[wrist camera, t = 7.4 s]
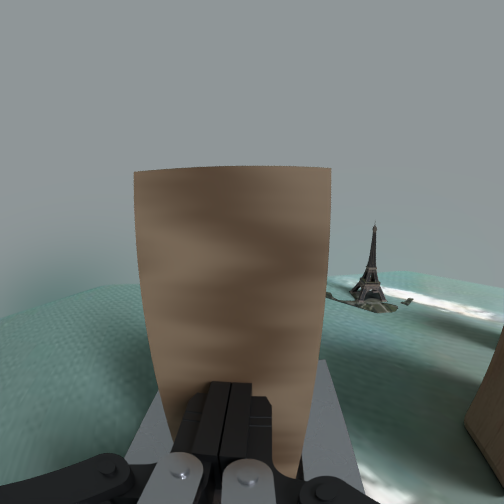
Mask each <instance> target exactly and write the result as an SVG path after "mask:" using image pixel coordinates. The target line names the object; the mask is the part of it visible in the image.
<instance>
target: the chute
mask: <svg viewBox="0 0 504 504" xmlns="http://www.w3.org/2000/svg"><path fill="white" fill-rule="evenodd" d="M173 444H174V443H173V440H172V437H171V433H170V430H169V427H168V423H167V420H166V416H165V412H164V409H163V405H162V401H161V397H160V393H159V390H158V392H157V394H156V396H155V398H154V400H153V402H152V403H151V405H150V407H149V409H148V411H147V413H146V415H145V417H144V419H143V421H142V423H141V425H140V427H139V429H138V431H137V433H136V435H135V437H134V439H133V441H132V443H131V445H130V447H129V450H128V452H127V454H126V456H125V458H124V459H125V460H126V461H127V463H128V464H152V463H156V462H158V461H159V460H160V459H161V458H162V457H163V456H165V455H167V454H169V453H170V452H171V449H172V447H173ZM319 476H334V477H337V478H340V479H342V480H343V481H345V482H346V483H348V484H349V485H351V486H352V487H354V488H355V489H357V490H359V491H360V492H362V493H363V494H365V491H364V488H363V484H362V480H361V476H360V473H359V469H358V465H357V462H356V458H355V455H354V451H353V448H352V444H351V441H350V437H349V434H348V430H347V427H346V424H345V420H344V417H343V414H342V410H341V407H340V404H339V401H338V398H337V394H336V391H335V388H334V385H333V382H332V378H331V375H330V372H329V369H328V366H327V363H326V360H318V365H317V372H316V378H315V385H314V391H313V397H312V403H311V408H310V414H309V419H308V424H307V430H306V434H305V439H304V444H303V449H302V453H301V458H300V462H299V466H298V470H297V475H296V479H298V480H303V481H309V480H311V479H313V478H315V477H319ZM221 497H222V490H217V489H215V493H214V498H213V504H221Z"/></svg>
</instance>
